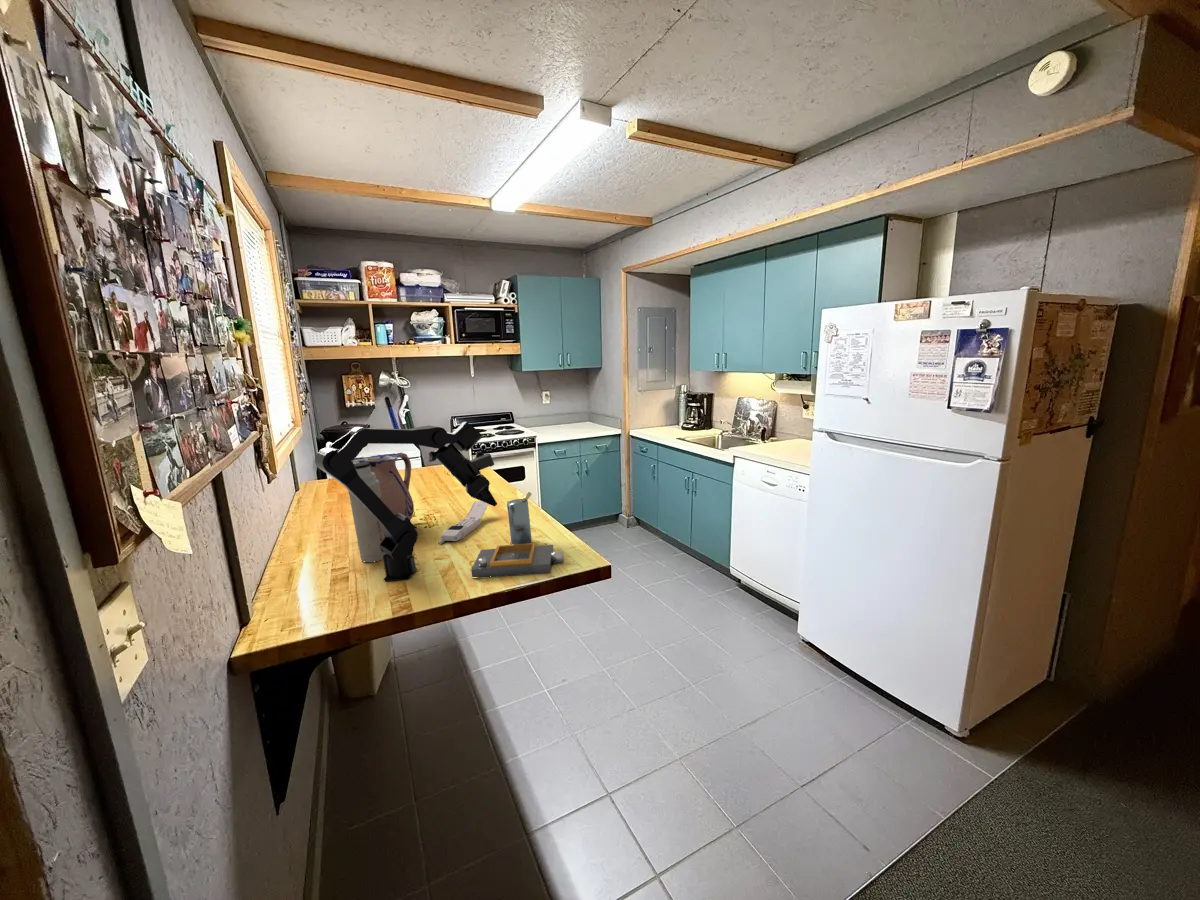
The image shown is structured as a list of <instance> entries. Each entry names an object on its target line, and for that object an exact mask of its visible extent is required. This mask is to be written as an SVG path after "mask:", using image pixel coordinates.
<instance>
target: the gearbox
mask: <svg viewBox="0 0 1200 900" xmlns="http://www.w3.org/2000/svg"><path fill="white" fill-rule="evenodd" d="M477 555H478V556H477V557H476V560H475V561H474V563H473V565H472V567H471V570H470V572H471V578H472V577H489V578H499V577H500V578H501V577H502V578H503V577H513V576H515V577H516V576H528V575H542V574H551V573H552V567H553V564H556V563H557V564H558V563H564V561H565V560H564V551H563V550H557V551H556V550H554V545H553V544H544V545H537V544H536V542H532V543H527V544H513V545H511V544H500V545H496V547H495V548H489V549H481V550H480V551H479V553H478V554H477ZM490 576H491V577H490Z"/></svg>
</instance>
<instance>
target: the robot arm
mask: <svg viewBox="0 0 1200 900" xmlns="http://www.w3.org/2000/svg"><path fill="white" fill-rule="evenodd" d="M482 438H483V437H482V434H481V432H480V431H479V430H478V429H476V427H474V426H473V425H471V424H470V423H469V422H468V421H463V422H461V424H460V425H458V427H457V428H456V429H455V430H454V431H453V432H448V431H447V430H446V429H445V428H444V427H440V426H434V425H423V426H417V427H413V428H383V427H382V428H378V427H374V428H372V427H362V426H355V427H352V428H351V429H350V430H349V432H347V433H346V434H345V435H343V436H341V437H340V438H339V439H337V440H335V441H334V442H333V443H332V444H331V445H329V446H328V447H324V448H321V449H319V451H318V452H317V453H316V455H315V457H314V463H315V466H316V467H317V468H318V469H320V470H321V471H322V472H323V473H325V474H327V475H328V476H329V477H331V478H332V479H334V480H335V481H336V482H338V483H340V484H341V485H342V486H344V488H345V489H346V490H347V491H349V492H350V493H351V494H352V495H353V496H354V497H355V498H356V499H357V500H358V501H359V502H360V503H361V504H362V505H363V506H364V507H365V508H366V510H367V511H368V512H369V513H370V514H371V515H372V516H373V517H374V518H375V519H376V520H377V521H378V522H379V524H380V526H381V529H382V531H383V532H384V534H385V537H384V539H383V540H382V542H381V543H380V545H379V548H380V549H381V551H382V552H384V553H385V555H384V556H383V560H382V561H383V565H384V570H385V577H384V578H383V581H384V580H385V581H384V582H388V581H387V580H393V581H405V580H406V579H407V580H410V578H411V577H412V576H413V574H414V573H415V572H416V570H417V569H418V568H417V566H416V559H415V556H414V555H413V554H414V549H415V544H416V543H417V541H418V537H419V533H418V531H417V529H418V526H416V525H414V524H413V523H412V522H411V521H412V520H411V521H410V520H409V518H408V517H406V516H404V515H402V514H400V513H397V514H396V516H395V515H394V514H393V513H392V511H391V510H390V509H389V508H388V507H387V506H386V505H385V504H384V503H383V502H382V501H381V499H380V498H379V497H378V496H377V495H376V494H375V493H374V492H373V491H372V490H371V489H370V487H369V486H368V485H367V484H366V483H365V482H364V481H363V480H362V479H361V478H360V476H359V475H358V472H357V470H356V468H355V465H354V464H355V463H354V462H353V460H355V459H356V458H357V457H358V455H359V454H360V453H361V452H362V450H363V449H364V448H365V446H367V445H369V444H378V445H379V444H380V445H381V444H383V445H384V444H385V445H386V444H389V445H391V444H392V445H393V444H394V445H396V444H398V445H399V444H400V445H403V444H406V445H409V444H410V445H417V446H422V447H428V448H433V449H436V450H433V451H429V452H428V455H429V456H428V462H429V463H432V462H435V461H436V460H438V462H440V463H441V464H442V465H443V466H444V468H445V469H446V470H447V471H448V472H449V473H450V474H451V475H452V477H455V479H456V480H457V481H458V482H459V483H460V484H461V486H463V487H464V488H465V491H466V493H467V494H468V496H470V497H471V498H473V499H476V500H477V501H483V502H485V503H487V504H488V505H491V506H493V507H496V506H497V505H498V502H497V500H496V499H495V498H494V496H493V494H492V492H491V491H490V484H491V483H490V481H489V479H488V478H487V477H486V476H485V475H484V474H482V473H481V470H484V469H487V468H489V467H494V466H495V462H494V459H493V457H492V454H490V453H489V452H487V453H486V452H485V454H484V453H483V452H482V451H478V452H476V453H475V457H473V459H468V457H465V455H463V453H462V452H463V451H464V452H469V451H470V450H471V448H473V447H474V446H475V445H476V444H477V443H478V442H479V441H480V440H481V439H482ZM349 492H348V493H349ZM414 571H415V572H414ZM411 575H412V576H411Z"/></svg>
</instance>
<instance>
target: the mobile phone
mask: <svg viewBox="0 0 1200 900" xmlns="http://www.w3.org/2000/svg"><path fill="white" fill-rule="evenodd" d="M488 506H489V504H487V503H485V502H483V501H480V500H477V501H474V502H473V503H472V505H471V508H470V510H469V512H468V513H467V516H466V517H464V518H463V519H461V520H460V521H458V522H457V523H455V524H453V525H451V526H449V527H448V528H446V529H445V530H444V531H443V532H442V533H440V538H441V539H440V540H439V541H438V545H441V544H443V543H444V542H446V541H447V542H449V541H450V542H457V541H460V540H461V539H462V540H463V539H465V537H466V536H467V535H468V534H470V533H471V532H473V531H474V530H475V529H477V527H479V526H480V525H481V519H482V518H483V516H484V514H485V512H486V510H487V507H488Z"/></svg>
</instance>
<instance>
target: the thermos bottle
mask: <svg viewBox="0 0 1200 900" xmlns="http://www.w3.org/2000/svg"><path fill="white" fill-rule="evenodd" d="M353 464H354V465H355V468H356V470H357V472H358V475H359V476H360V478H361V479H362V480H363V481H364V482H365V483H366V484H367V485H368V486H369V487H370V489H371V490H372V491H373V492H374V493H375V494H376V495H377V496H378V497H379V498H380V499H381V501H382V497H381V491H380V485H379V481H378V480H376V476H375V473H373V472H371V469H370V467H369V466H370V464H369V463H368V462H362V463H359V462H357V463H353ZM347 491H348V490H347ZM348 498H349V501H350V507H351V513H352V519H353V524H354V528H355V529H354V530H355V533H356V534H355V535H356V539H357V544H358V551H359V557H360V561H361V560H362V561H365V562H374V561H378V562H380V561H379V560H382V559H383V556H384V555H385V553H384V552H382V551H381V549H380V548H379V545H380V543H381V542H382V540H383V539H384V537H385V534H384V532H383V531H382V529H381V526H380V524H379V522H378V521H377V520H376V519H375V518H374V517H373V516H372V515H371V514H370V513H369V512H368V511H367V510H366V508H365V507H364V506H363V505H362V504H361V503H360V502H359V501H358V500H357V499H356V498H355V497H354V496H353V495H352V494H351V493H350V492H349V491H348ZM362 561H361V562H362ZM382 561H383V560H382ZM374 563H375V562H374Z"/></svg>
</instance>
